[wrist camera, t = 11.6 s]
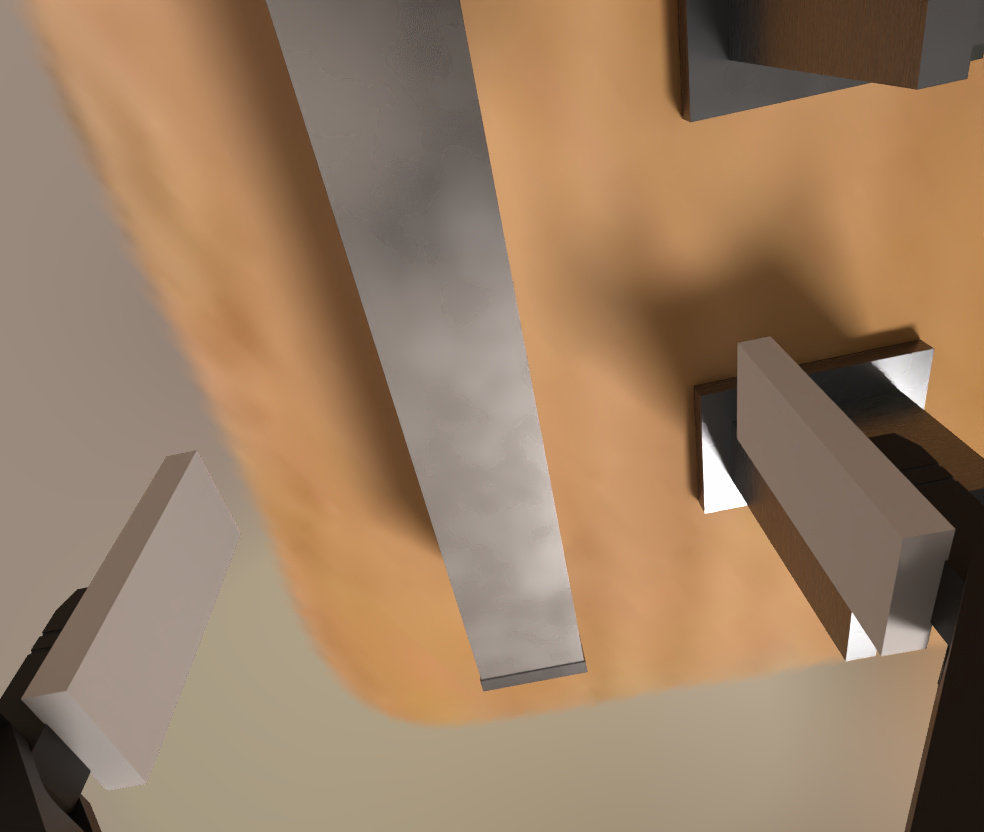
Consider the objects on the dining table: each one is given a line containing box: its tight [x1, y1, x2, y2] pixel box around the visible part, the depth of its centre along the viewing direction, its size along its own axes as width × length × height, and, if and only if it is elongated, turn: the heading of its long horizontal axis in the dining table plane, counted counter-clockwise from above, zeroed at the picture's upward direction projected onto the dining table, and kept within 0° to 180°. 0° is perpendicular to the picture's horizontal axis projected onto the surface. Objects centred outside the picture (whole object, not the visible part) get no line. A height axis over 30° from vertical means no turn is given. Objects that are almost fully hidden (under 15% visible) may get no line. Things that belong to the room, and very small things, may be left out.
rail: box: [266, 0, 587, 691], centre depth 22 cm, size 26×4×6 cm, turn 11°
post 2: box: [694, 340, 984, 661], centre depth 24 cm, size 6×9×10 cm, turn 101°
